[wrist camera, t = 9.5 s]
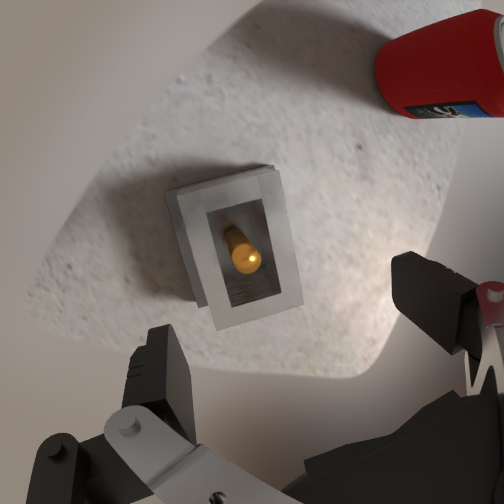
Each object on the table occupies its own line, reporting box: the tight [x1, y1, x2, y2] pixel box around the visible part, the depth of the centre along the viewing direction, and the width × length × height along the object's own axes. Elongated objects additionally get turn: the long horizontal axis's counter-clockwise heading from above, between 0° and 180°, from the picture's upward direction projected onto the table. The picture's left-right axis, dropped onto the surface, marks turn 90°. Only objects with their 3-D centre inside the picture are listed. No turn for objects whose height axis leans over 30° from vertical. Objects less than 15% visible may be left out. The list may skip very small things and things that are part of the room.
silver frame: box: [177, 168, 304, 331], centre depth 19 cm, size 8×5×4 cm
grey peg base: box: [164, 165, 275, 308], centre depth 19 cm, size 8×7×5 cm
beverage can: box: [375, 9, 504, 119], centre depth 15 cm, size 7×7×12 cm
